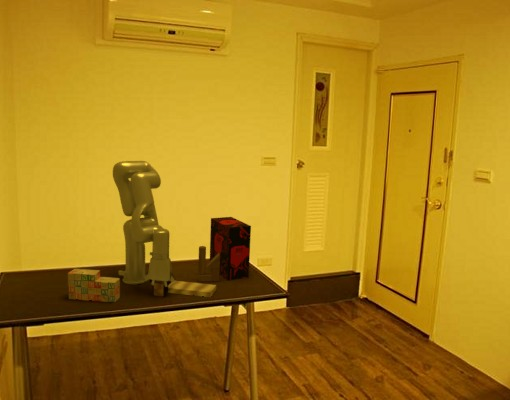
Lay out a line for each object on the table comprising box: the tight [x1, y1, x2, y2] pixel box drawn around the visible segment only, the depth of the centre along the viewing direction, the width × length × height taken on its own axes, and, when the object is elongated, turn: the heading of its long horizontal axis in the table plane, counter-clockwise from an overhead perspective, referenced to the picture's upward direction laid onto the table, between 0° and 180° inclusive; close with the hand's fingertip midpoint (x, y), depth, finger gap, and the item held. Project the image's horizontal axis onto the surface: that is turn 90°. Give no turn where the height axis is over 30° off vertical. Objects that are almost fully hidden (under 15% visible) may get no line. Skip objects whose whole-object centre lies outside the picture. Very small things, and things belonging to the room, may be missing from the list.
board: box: [167, 280, 217, 298], centre depth 213 cm, size 28×10×2 cm, turn 81°
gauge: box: [153, 278, 171, 297], centre depth 212 cm, size 4×14×6 cm, turn 170°
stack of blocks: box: [67, 268, 121, 303], centre depth 199 cm, size 21×6×12 cm, turn 85°
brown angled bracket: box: [197, 245, 220, 283], centre depth 226 cm, size 4×11×18 cm, turn 103°
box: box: [209, 216, 252, 281], centre depth 240 cm, size 23×12×28 cm, turn 29°
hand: (160, 292), depth 207 cm, fingers closed on gauge, 4 cm apart
